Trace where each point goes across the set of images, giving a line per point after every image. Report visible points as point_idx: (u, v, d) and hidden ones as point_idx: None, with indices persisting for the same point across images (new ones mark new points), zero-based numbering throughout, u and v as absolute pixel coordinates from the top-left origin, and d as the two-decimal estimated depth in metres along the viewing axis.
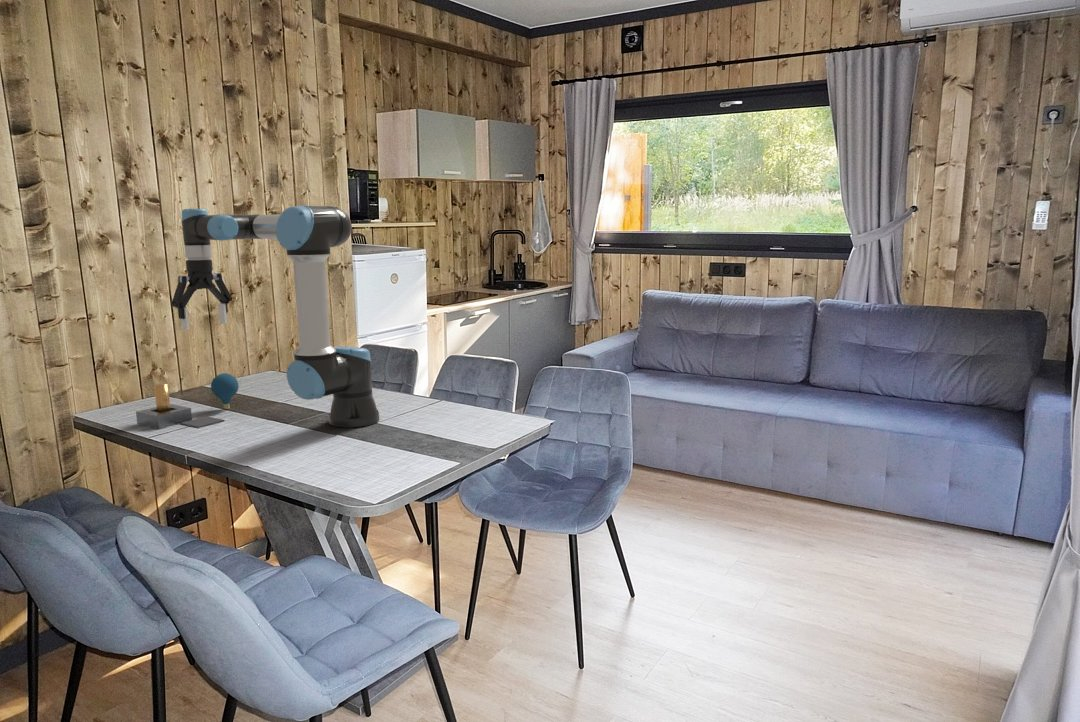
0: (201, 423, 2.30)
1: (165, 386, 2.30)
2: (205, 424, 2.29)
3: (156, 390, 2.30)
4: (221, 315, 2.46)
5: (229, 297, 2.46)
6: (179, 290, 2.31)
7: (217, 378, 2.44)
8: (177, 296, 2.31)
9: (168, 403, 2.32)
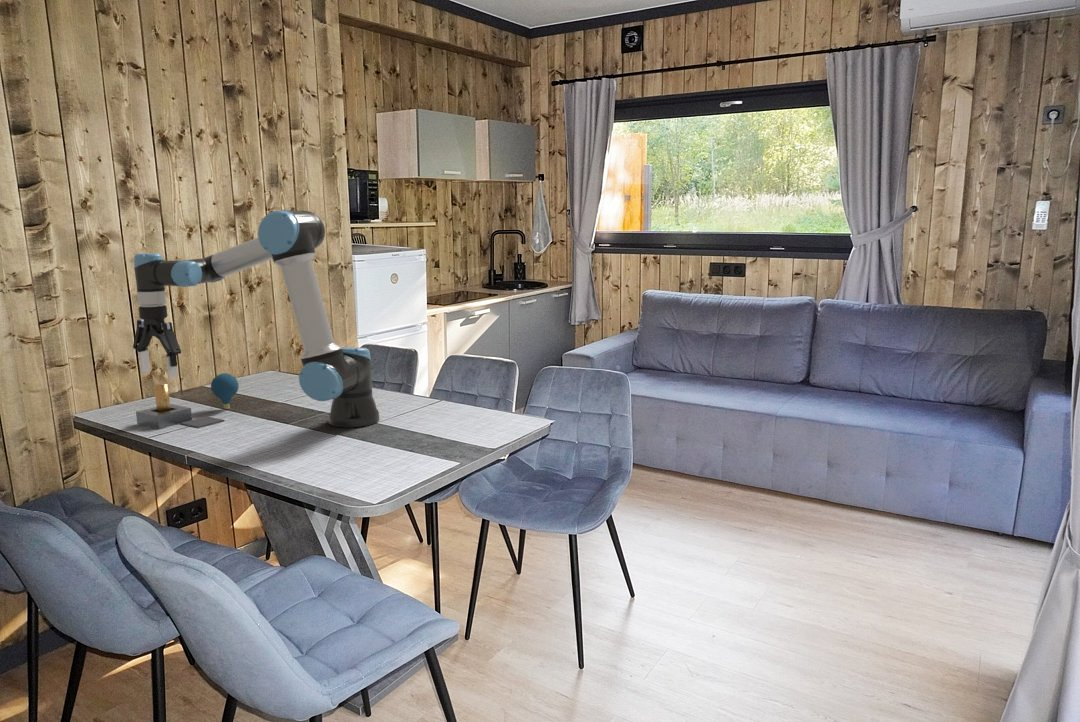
0: (201, 423, 2.30)
1: (165, 386, 2.30)
2: (205, 424, 2.29)
3: (156, 390, 2.30)
4: None
5: (171, 350, 2.24)
6: None
7: (217, 378, 2.44)
8: None
9: (168, 403, 2.32)
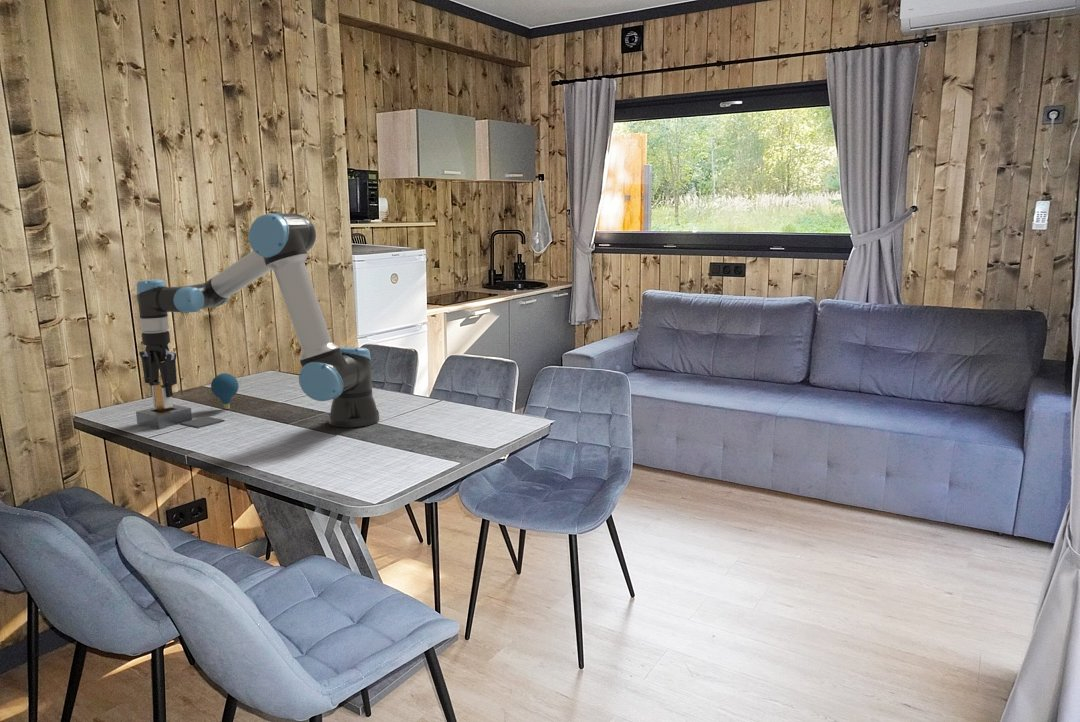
0: (201, 423, 2.30)
1: None
2: (205, 424, 2.29)
3: (156, 390, 2.30)
4: None
5: (168, 381, 2.28)
6: None
7: (217, 378, 2.44)
8: None
9: None
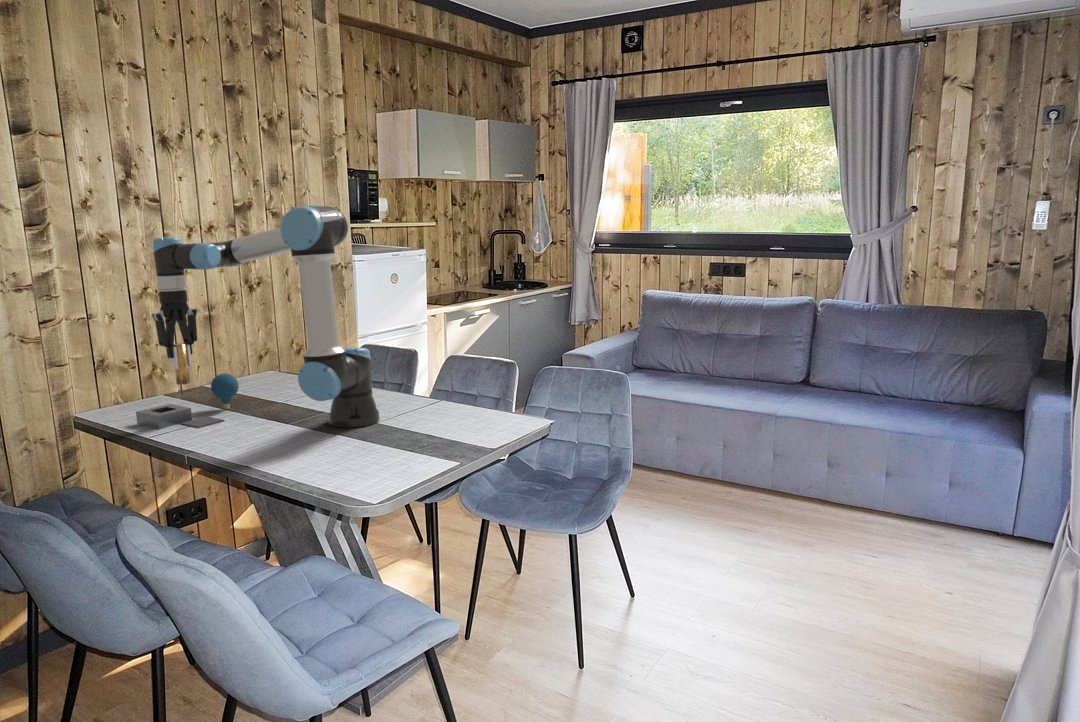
0: (201, 423, 2.30)
1: None
2: (205, 424, 2.29)
3: (184, 349, 2.28)
4: None
5: (194, 337, 2.32)
6: (160, 329, 2.22)
7: (217, 378, 2.44)
8: (161, 336, 2.23)
9: None
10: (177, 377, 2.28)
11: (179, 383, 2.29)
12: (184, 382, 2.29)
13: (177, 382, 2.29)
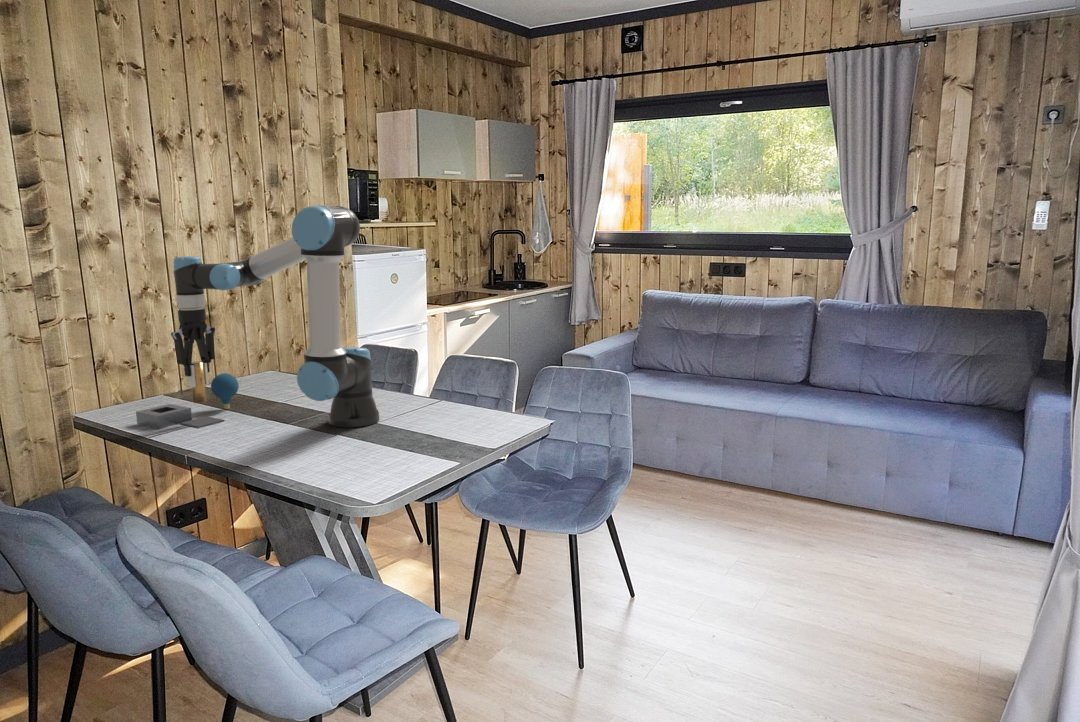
0: (201, 423, 2.30)
1: None
2: (205, 424, 2.29)
3: (201, 367, 2.29)
4: None
5: (212, 355, 2.32)
6: (178, 348, 2.23)
7: (217, 378, 2.44)
8: (179, 354, 2.24)
9: None
10: (194, 395, 2.29)
11: (196, 401, 2.30)
12: (201, 400, 2.30)
13: (194, 400, 2.30)
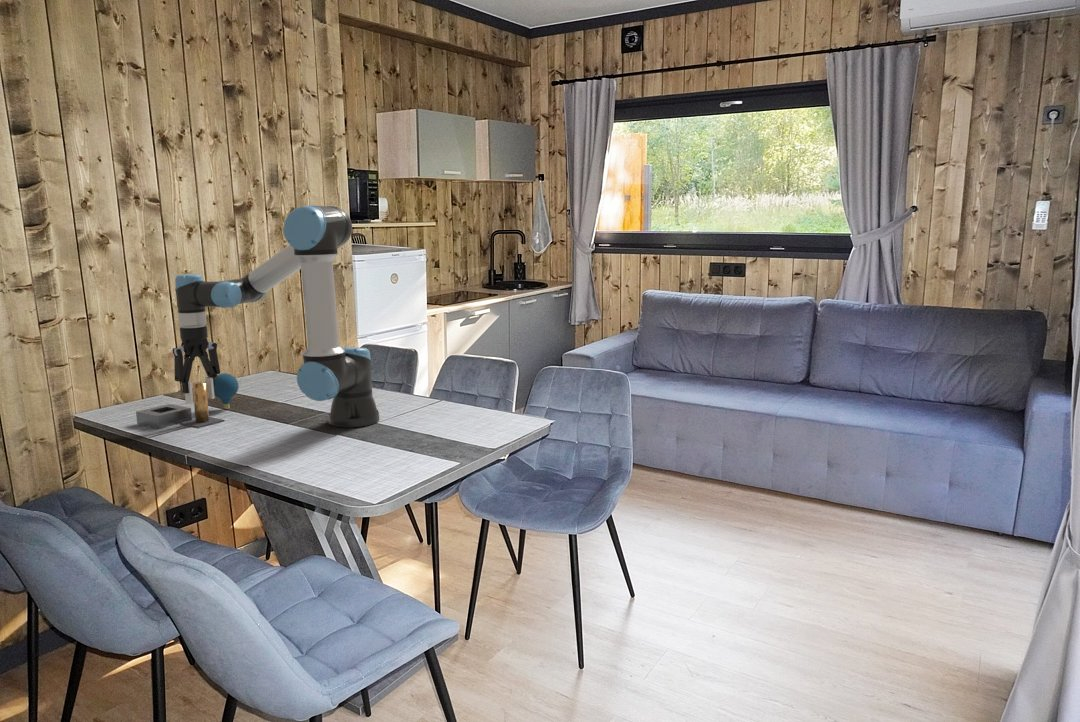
0: (201, 423, 2.30)
1: None
2: (205, 424, 2.29)
3: (204, 388, 2.30)
4: (208, 389, 2.34)
5: (217, 370, 2.34)
6: (178, 364, 2.23)
7: (217, 378, 2.44)
8: (178, 371, 2.24)
9: None
10: (197, 415, 2.31)
11: (198, 421, 2.31)
12: (203, 420, 2.31)
13: (196, 420, 2.31)
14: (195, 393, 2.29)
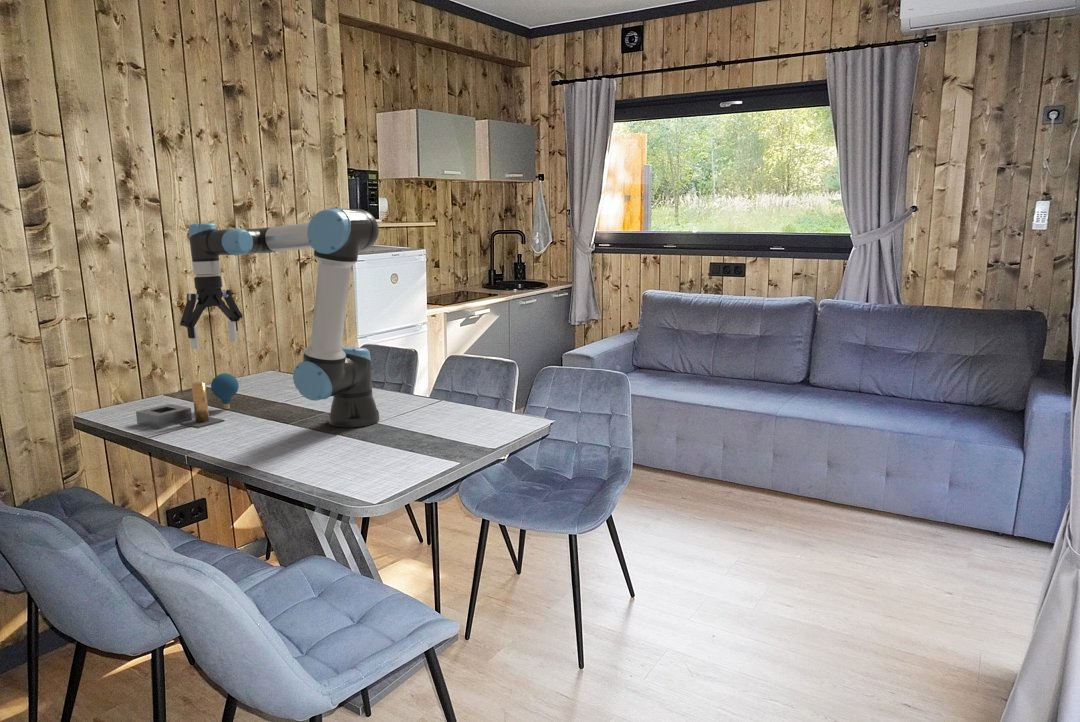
0: (201, 423, 2.30)
1: None
2: (205, 424, 2.29)
3: (203, 388, 2.30)
4: (230, 333, 2.36)
5: (239, 314, 2.36)
6: (188, 308, 2.21)
7: (217, 378, 2.44)
8: (186, 315, 2.21)
9: None
10: (196, 415, 2.31)
11: (198, 421, 2.31)
12: (203, 420, 2.31)
13: (196, 420, 2.31)
14: (194, 393, 2.29)
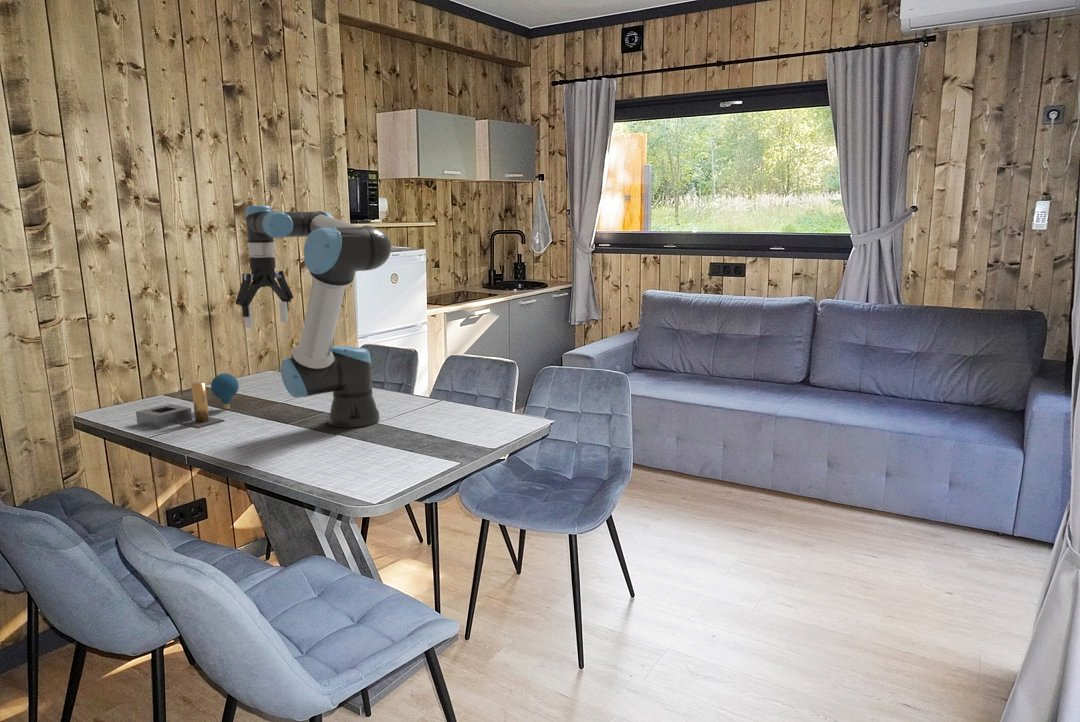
0: (201, 423, 2.30)
1: None
2: (205, 424, 2.29)
3: (203, 388, 2.30)
4: (282, 313, 2.43)
5: (290, 295, 2.43)
6: (244, 288, 2.28)
7: (217, 378, 2.44)
8: (242, 294, 2.28)
9: None
10: (196, 416, 2.31)
11: (198, 421, 2.31)
12: (203, 420, 2.31)
13: (196, 420, 2.31)
14: (194, 393, 2.29)
